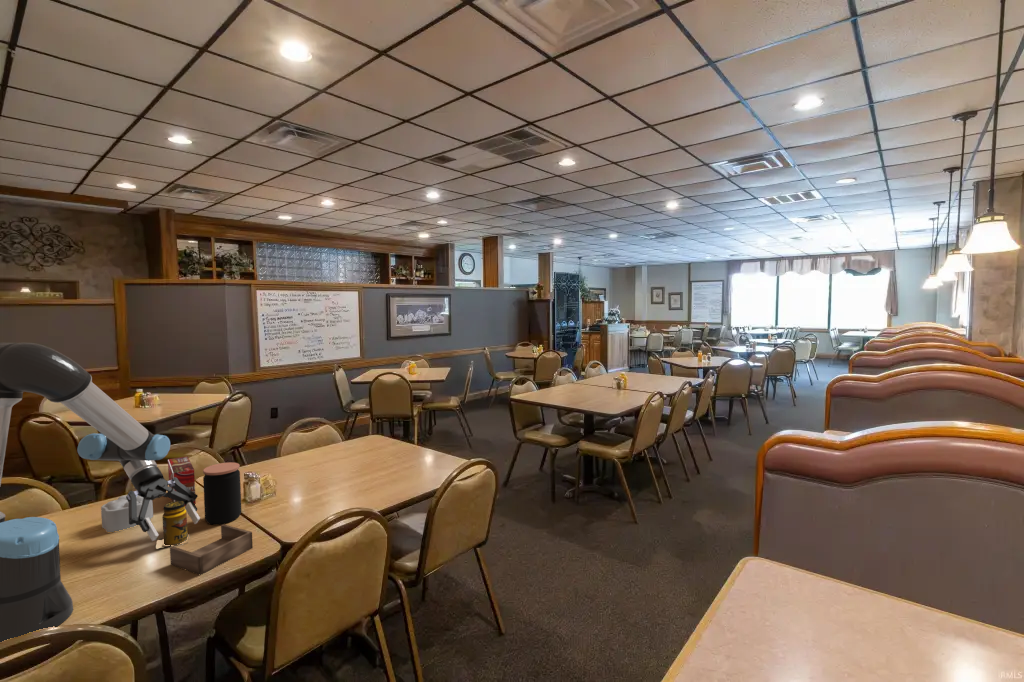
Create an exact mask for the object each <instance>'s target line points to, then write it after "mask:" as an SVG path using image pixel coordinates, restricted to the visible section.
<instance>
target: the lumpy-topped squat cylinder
mask: <svg viewBox="0 0 1024 682" xmlns="http://www.w3.org/2000/svg"><path fill="white" fill-rule="evenodd" d="M126 496H127V494H125V495H121V496H119V497H118V498H117V499H115V500H110V501H108V502H107V503H105V504H103V505H102V506H100V514H101V528H102V529H103V528H104V529H103V530H105V529H106V530H105V532H106V531H107V532H114V531H119V530H123V529H127V528H130V527H133V528H135V527H134V526H136V523H134V524H132V525H130V524H129V502H128V500H127V498H126ZM136 499H137V517H138V516H139V513H140V509H141V506H142V502H143V497H141V496H139V495H137V497H136ZM153 505H154V504H153V500H150V501H149V505H148V508H147V512H146V515H145V518H144V519H146V518H148V517H149V519H151V518H152V517H153V518H154V507H153ZM153 518H152V519H153ZM152 519H151V520H152ZM136 527H137V526H136ZM130 529H131V528H130ZM127 530H128V529H127ZM123 531H124V530H123ZM107 532H106V533H107ZM119 532H120V531H119ZM114 533H115V532H114Z"/></svg>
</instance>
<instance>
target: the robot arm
mask: <svg viewBox="0 0 1024 682" xmlns="http://www.w3.org/2000/svg"><path fill="white" fill-rule="evenodd" d="M25 392H26V393H30V394H31V393H32V394H35V395H39V396H42V397H44V398H45V399H47V400H48V401H49V402H52V403H56V404H59V403H60V404H62V406H64V407H66V408H67V409H68V410H70V411H71V412H72V413H73V414H74V415H76V416H78V417H79V418H80V419H81V420H83V421H84V422H86V423H87V424H88V425H90V426H91V427H92V428H94V429H95V430H97V432H99V433H90V434H87V435H85V436H83V438H81V439H80V441H79V443H78V446H77V453H78V456H79V457H81V458H82V459H85V460H91V461H113V462H115V461H116V462H119V464H120V465H121V466H122V468H123V470H124V472H125V473H126V475H127V476H128V478H129V480H130V482H131V484H132V486H133V487H134V489H135V490H129V491H128V492H127V494H126V495H127V496H126V498H127V500H128V502H129V524H130V525H132V524H134V523H136V525H139V527H140V529H141V530H142V532H144V533H147V535H148V536H149V538H150V540H151V542H154V541H155V542H156V540H157V538H158V537H159V535H160V534H159V533H158V531H157V529H156V528H155V526H154V524H153V523H152V521H151V520H150V519H149V517H148V518H146V519H144V518H145V515H146V512H147V508H148V505H149V501H150V500H152V501H153V500H156V499H160V498H169V499H170V500H171V499H173V500H175V501H183V502H184V503H185V505H186V506H185V510H186V512H187V515H189V518H190V519H191V521H192V523H193V524H194V525H196V524H198V522H199V521H200V520H201V516H199V514H198V512H197V510H198V507H197V504H196V505H195V504H194V501H195V500H196V501H197V499H198V497H199V496H198V494H196V492H195V493H194V492H192V491H191V490H190V489H188V488H187V487H186V486H184V485H183V484H182V483H180V482H179V480H178V479H177V478H176V477H174V478H173V479H172V480H169V479H168V480H166V479H165V477H164V475H163V472H162V471H161V469H160V468H159V467H158V464H157V462H156V461H160V460H163V459H164V458H165V457H166V456H167V455H168V454H169V451H170V450H171V440H170V438H169V436H167V435H165V434H164V435H163V434H159V433H157V434H153V432H151V431H149V430H148V429H147V428H146V427H145V426H143V425H142V424H141V423H140V422H139V421H137V419H135V418H134V416H132V415H131V414H129V412H127V411H126V410H125V409H124V408H123V407H121V406H120V405H119V403H117V402H116V401H115V400H113V399H112V398H111V397H110V396H109V395H108V394H107V393H105V392H104V391H103V390H102V389H101V388H100V387H98V386H97V385H96V384H95V383H93V377H92V375H91V374H90V373H89V372H88V371H87V370H86V369H84V367H82V365H80V364H79V363H78V362H76V361H74V360H73V359H71V358H70V357H69V356H67V355H65V354H63V353H61V352H59V351H57V350H56V349H54V348H51V347H49V346H46V345H43V344H39V343H34V342H0V486H1V485H2V478H3V470H4V463H5V457H6V450H7V445H8V435H9V429H10V422H11V416H12V411H13V410H12V408H13V406H14V405H16V404H18V403H19V402H21V401H22V400H23V394H24V393H25ZM169 485H170V487H173V488H174V489H175V490H176V491H174V490H173V489H172V488H170V487H169ZM137 495H139V496H141V497H143V502H142V506H141V509H140V513H139V516H138V517H137V499H136V497H137ZM60 554H61V553H60V534H59V533H58V527H57V524H56V523H55V522H54V521H53V520H51V519H50V518H47V517H39V516H29V517H28V516H26V517H24V518H14V519H13V518H12V519H10V520H6V514H5V513H4V512H2V511H0V642H2V641H4V640H7V639H10V638H14V637H18V636H21V635H24V634H27V633H29V632H33V631H36V630H39V629H43V628H48V627H53V626H57V627H58V626H60V625H61V624H62V623H64V622H66V620H67V619H69V618H70V616H71V615H72V613H73V610H74V605H73V604H74V603H73V602H74V601H73V598H72V597H71V595H70V593H69V592H68V590H67V588H66V587H65V585H64V584H63V582H62V580H61V579H62V578H61V558H60V557H61V555H60Z"/></svg>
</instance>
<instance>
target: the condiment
mask: <svg viewBox="0 0 1024 682" xmlns="http://www.w3.org/2000/svg"><path fill="white" fill-rule="evenodd" d="M187 515H188V513H187V511H186V509H185V503H184V502H183V501H175V502H172V501H171V502H169V503H166V504H164V506H163V515H162V534H163V535H162V537H163V538H160V539H159V540H161V539H164V544H165V545H170V546H171V545H177V544H180V543H182V542H184V541H186V540H187V537H188V517H187Z"/></svg>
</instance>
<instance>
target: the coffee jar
mask: <svg viewBox="0 0 1024 682" xmlns="http://www.w3.org/2000/svg"><path fill="white" fill-rule="evenodd" d="M240 471H241V470H240V464H239V463H238V462H233V461H232V462H231V461H230V462H220V463H216V464H211V465H208V466H206V467H204V468H203V471H202V473H203V475H204V476H203V478H202V480H203V481H202V482H203V483H202V484H203V504H204V507H203V508H204V520H205V522H207V524H209V523H210V525H213V524H219V525H223V524H224V523H225V524H228V523H230V522H233V521H235V520H237V519H238V518H239V517H240V516H241V513H242V493H241V491H242V489H241V472H240Z"/></svg>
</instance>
